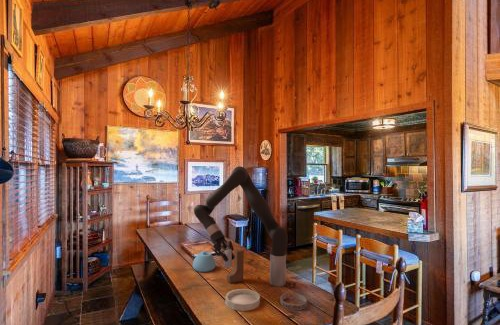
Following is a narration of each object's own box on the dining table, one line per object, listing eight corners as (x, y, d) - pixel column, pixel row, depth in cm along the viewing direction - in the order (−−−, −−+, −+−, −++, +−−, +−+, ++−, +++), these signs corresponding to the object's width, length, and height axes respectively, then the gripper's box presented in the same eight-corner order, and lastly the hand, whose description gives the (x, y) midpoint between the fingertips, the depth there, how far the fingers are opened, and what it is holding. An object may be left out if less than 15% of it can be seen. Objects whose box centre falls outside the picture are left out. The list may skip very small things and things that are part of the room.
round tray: (241, 291, 157) (241, 286, 157) (266, 301, 146) (266, 295, 146) (218, 302, 143) (218, 296, 143) (244, 314, 133) (244, 308, 133)
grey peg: (227, 264, 159) (227, 248, 159) (233, 266, 156) (233, 249, 156) (221, 266, 156) (222, 250, 156) (227, 268, 153) (227, 251, 153)
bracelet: (275, 305, 142) (275, 299, 142) (287, 295, 154) (287, 290, 154) (300, 314, 135) (300, 307, 135) (311, 302, 146) (311, 296, 146)
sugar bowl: (211, 274, 182) (211, 255, 182) (188, 271, 185) (189, 253, 185) (218, 265, 196) (218, 249, 196) (197, 264, 199) (198, 247, 199)
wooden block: (229, 283, 167) (230, 252, 167) (226, 280, 171) (227, 250, 171) (243, 280, 171) (244, 250, 171) (240, 278, 175) (240, 248, 175)
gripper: (209, 232, 155) (224, 259, 148) (227, 227, 166) (242, 253, 159) (202, 240, 159) (217, 267, 151) (221, 235, 170) (235, 260, 162)
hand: (230, 259), depth 155 cm, fingers closed on grey peg, 4 cm apart
